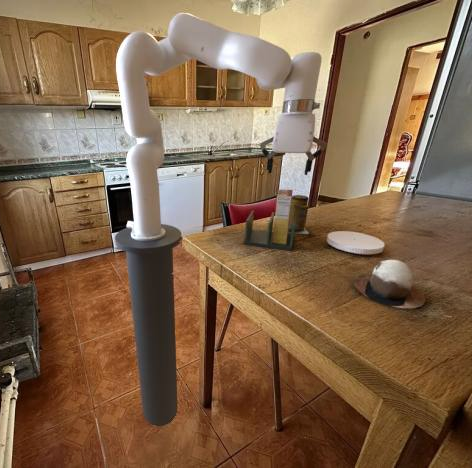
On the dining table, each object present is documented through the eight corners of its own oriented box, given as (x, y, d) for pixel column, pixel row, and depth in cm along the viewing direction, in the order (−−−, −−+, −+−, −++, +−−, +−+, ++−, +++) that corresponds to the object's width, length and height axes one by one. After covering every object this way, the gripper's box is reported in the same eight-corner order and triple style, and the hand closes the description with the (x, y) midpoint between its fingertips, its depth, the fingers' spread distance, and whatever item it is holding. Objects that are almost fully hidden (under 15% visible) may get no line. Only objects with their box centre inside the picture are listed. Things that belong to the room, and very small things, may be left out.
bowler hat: (353, 266, 64) (398, 245, 57) (385, 301, 62) (435, 284, 55) (344, 285, 56) (396, 264, 49) (380, 327, 54) (439, 310, 47)
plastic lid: (385, 261, 68) (387, 253, 67) (324, 251, 76) (326, 243, 75) (379, 243, 79) (381, 235, 78) (327, 235, 86) (328, 228, 85)
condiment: (303, 226, 95) (308, 194, 91) (309, 234, 88) (315, 200, 83) (282, 225, 97) (286, 194, 93) (286, 233, 89) (291, 199, 85)
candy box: (273, 233, 87) (279, 188, 82) (287, 235, 85) (294, 189, 80) (271, 243, 80) (277, 195, 74) (286, 245, 78) (293, 196, 72)
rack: (244, 244, 82) (246, 220, 79) (250, 231, 92) (252, 210, 89) (291, 250, 76) (295, 225, 74) (292, 236, 86) (296, 214, 84)
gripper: (333, 108, 68) (320, 173, 75) (265, 111, 75) (258, 170, 82) (336, 106, 62) (321, 177, 68) (261, 109, 69) (254, 173, 76)
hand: (287, 173), depth 75 cm, fingers open, 9 cm apart
